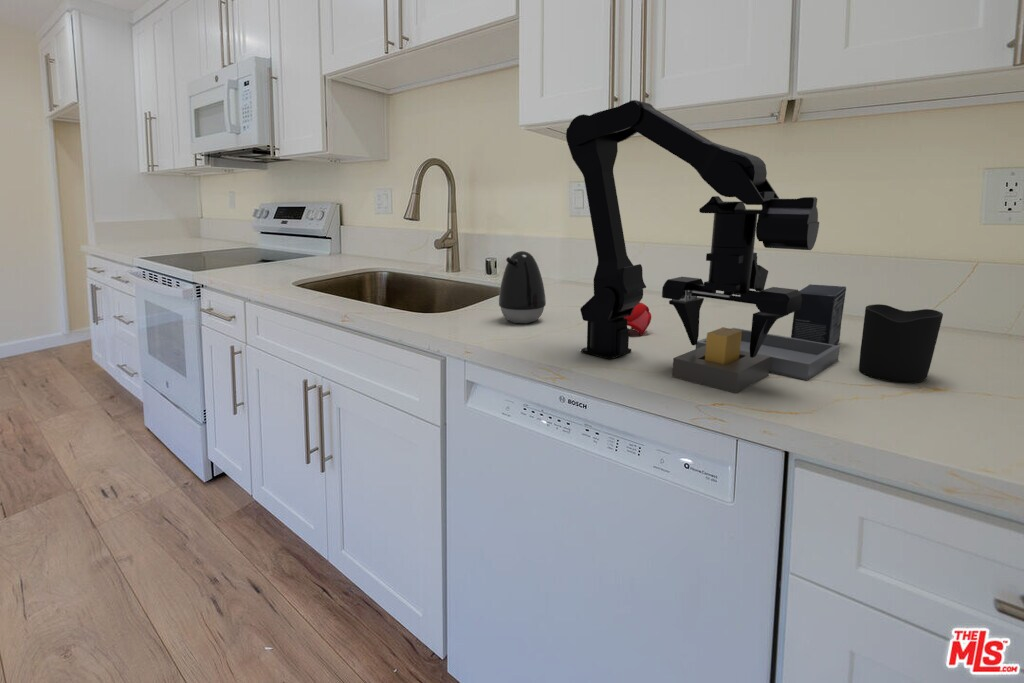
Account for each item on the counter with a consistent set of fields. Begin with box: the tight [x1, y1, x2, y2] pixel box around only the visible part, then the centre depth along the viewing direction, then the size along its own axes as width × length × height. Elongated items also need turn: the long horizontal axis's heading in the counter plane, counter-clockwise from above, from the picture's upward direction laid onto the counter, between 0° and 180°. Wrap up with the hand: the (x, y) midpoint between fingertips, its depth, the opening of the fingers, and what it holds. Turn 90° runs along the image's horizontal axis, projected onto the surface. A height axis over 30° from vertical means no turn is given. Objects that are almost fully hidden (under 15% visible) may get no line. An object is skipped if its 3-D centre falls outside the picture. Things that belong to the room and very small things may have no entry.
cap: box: [624, 301, 652, 336], centre depth 109 cm, size 8×6×6 cm
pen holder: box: [858, 303, 944, 384], centre depth 83 cm, size 9×9×10 cm
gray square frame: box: [671, 345, 771, 394], centre depth 84 cm, size 10×11×3 cm
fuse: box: [705, 327, 742, 365], centre depth 83 cm, size 3×5×7 cm, turn 134°
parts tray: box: [695, 327, 841, 381], centre depth 92 cm, size 18×14×2 cm
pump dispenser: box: [498, 250, 547, 324], centre depth 119 cm, size 10×10×15 cm
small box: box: [790, 284, 847, 345], centre depth 98 cm, size 11×6×10 cm, turn 141°
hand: (722, 350), depth 83 cm, fingers open, 9 cm apart
